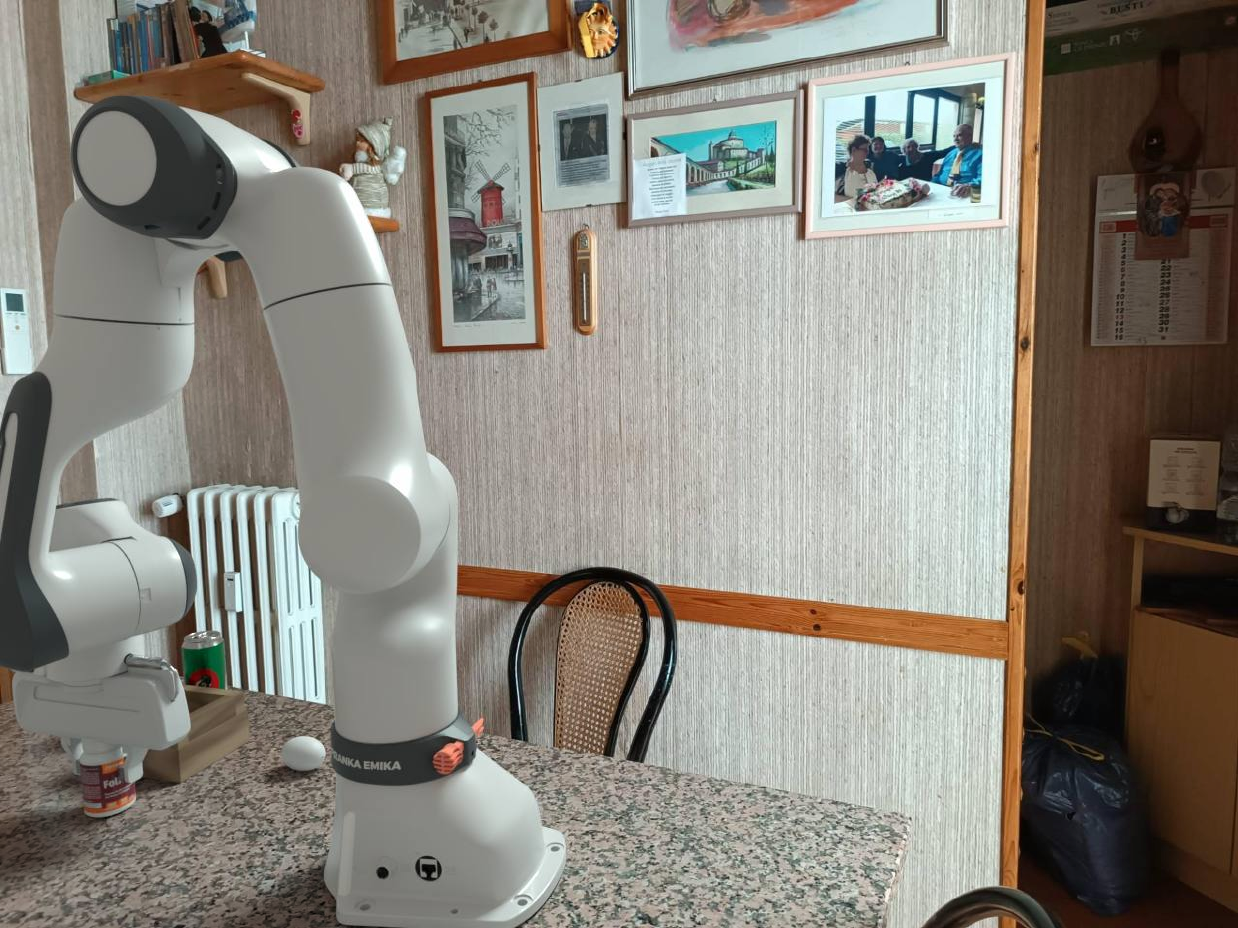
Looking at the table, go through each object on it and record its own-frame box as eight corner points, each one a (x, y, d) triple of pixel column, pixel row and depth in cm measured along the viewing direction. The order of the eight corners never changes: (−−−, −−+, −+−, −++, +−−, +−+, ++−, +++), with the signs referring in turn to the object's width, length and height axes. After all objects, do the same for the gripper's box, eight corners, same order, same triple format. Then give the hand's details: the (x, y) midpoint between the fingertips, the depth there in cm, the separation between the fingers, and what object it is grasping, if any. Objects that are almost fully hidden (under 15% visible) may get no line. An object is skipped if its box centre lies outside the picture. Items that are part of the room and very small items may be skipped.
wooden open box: (250, 740, 101) (246, 690, 101) (181, 782, 91) (176, 728, 90) (179, 730, 104) (176, 682, 104) (105, 770, 94) (100, 717, 93)
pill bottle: (110, 820, 83) (103, 744, 82) (73, 815, 84) (65, 740, 83) (147, 797, 87) (140, 724, 86) (111, 792, 89) (104, 720, 88)
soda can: (237, 719, 108) (231, 633, 106) (201, 733, 103) (194, 644, 102) (215, 711, 110) (209, 627, 109) (179, 725, 106) (172, 637, 105)
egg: (314, 780, 91) (312, 748, 91) (271, 772, 93) (269, 741, 93) (336, 764, 95) (334, 733, 94) (294, 757, 97) (293, 727, 96)
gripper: (199, 648, 84) (210, 773, 85) (52, 635, 90) (64, 752, 91) (149, 670, 78) (161, 804, 79) (-6, 654, 84) (8, 779, 85)
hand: (108, 776), depth 85 cm, fingers closed on pill bottle, 5 cm apart
